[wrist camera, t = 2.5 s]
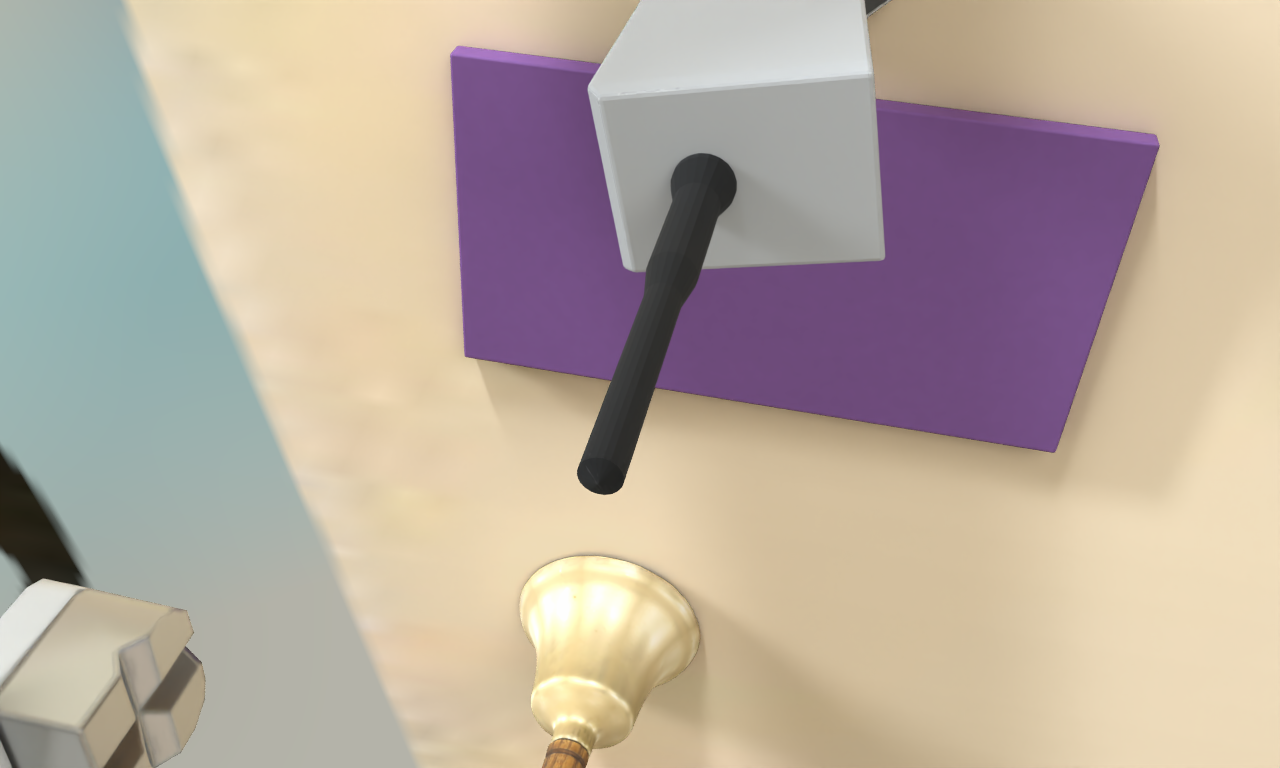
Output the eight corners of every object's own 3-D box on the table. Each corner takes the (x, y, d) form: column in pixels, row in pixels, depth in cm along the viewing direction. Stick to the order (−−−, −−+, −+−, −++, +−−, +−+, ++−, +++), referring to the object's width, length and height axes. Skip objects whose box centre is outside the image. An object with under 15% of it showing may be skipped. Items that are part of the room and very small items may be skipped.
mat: (457, 44, 39) (449, 53, 38) (1157, 133, 36) (1161, 144, 35) (470, 345, 46) (463, 357, 45) (1053, 440, 43) (1055, 454, 42)
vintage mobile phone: (907, -22, 35) (860, 598, 15) (738, -4, 36) (488, 588, 16) (901, -159, 33) (837, 350, 13) (722, -134, 34) (413, 362, 14)
